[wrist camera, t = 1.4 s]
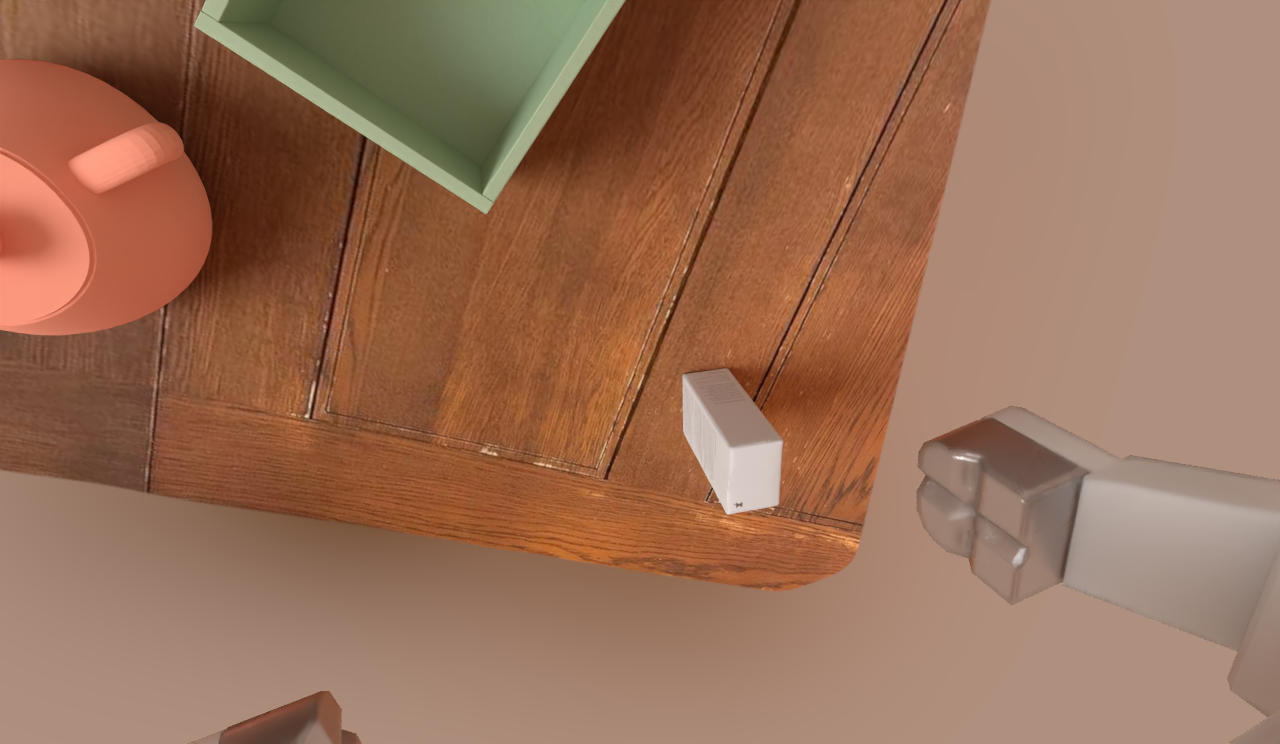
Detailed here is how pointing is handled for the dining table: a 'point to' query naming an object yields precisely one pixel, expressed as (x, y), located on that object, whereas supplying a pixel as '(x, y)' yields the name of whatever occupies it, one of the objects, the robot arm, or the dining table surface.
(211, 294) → the dining table surface
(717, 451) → the cosmetic box
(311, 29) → the open storage bin
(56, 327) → the teapot
